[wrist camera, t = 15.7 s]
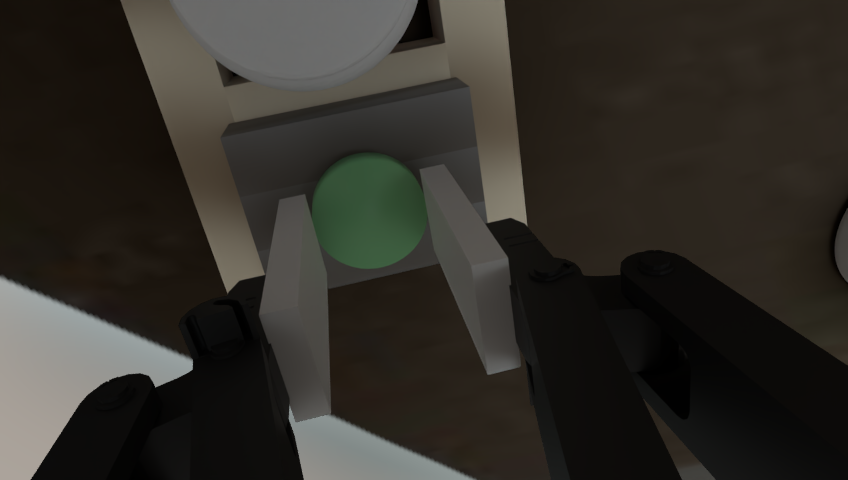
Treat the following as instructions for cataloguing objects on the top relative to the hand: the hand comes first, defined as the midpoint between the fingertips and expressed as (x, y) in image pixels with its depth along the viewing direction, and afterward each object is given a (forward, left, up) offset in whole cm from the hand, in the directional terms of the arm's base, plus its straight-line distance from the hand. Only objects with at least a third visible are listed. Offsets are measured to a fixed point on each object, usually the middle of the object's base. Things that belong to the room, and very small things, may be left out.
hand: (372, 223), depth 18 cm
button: (0, 0, -3) cm, 3 cm away
